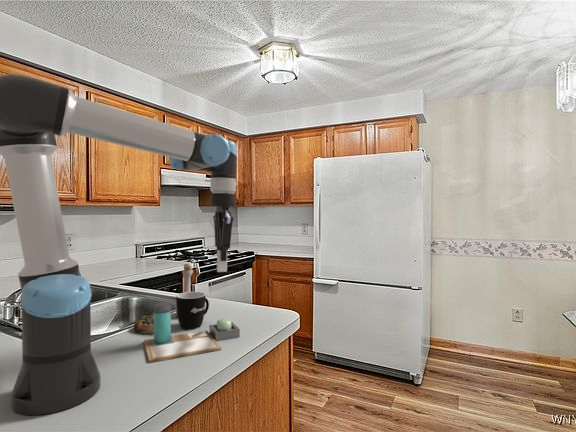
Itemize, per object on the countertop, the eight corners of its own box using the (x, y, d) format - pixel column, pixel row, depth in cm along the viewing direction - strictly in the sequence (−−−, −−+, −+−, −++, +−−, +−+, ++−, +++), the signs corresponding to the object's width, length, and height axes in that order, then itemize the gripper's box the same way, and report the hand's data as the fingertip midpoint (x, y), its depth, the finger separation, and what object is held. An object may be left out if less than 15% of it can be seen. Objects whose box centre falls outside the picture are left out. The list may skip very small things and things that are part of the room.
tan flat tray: (149, 362, 87) (149, 359, 87) (143, 341, 100) (143, 339, 100) (221, 350, 95) (221, 347, 95) (207, 332, 109) (207, 329, 109)
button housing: (215, 341, 102) (215, 332, 101) (209, 333, 108) (209, 325, 108) (239, 337, 105) (239, 329, 105) (232, 329, 111) (232, 321, 111)
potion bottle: (192, 309, 132) (192, 261, 132) (204, 315, 126) (204, 264, 125) (169, 314, 126) (169, 264, 126) (181, 320, 120) (181, 267, 119)
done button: (219, 337, 104) (219, 324, 103) (215, 333, 107) (215, 320, 107) (233, 335, 105) (233, 322, 105) (228, 331, 109) (228, 318, 109)
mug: (189, 333, 108) (189, 300, 108) (170, 327, 113) (170, 295, 112) (217, 322, 118) (217, 292, 118) (198, 317, 123) (198, 288, 122)
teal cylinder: (154, 344, 96) (154, 308, 96) (153, 339, 100) (153, 304, 100) (172, 342, 98) (172, 306, 98) (169, 336, 102) (169, 302, 102)
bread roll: (128, 327, 113) (131, 311, 113) (163, 325, 120) (165, 310, 120) (138, 338, 104) (140, 321, 104) (175, 336, 111) (177, 320, 111)
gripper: (242, 192, 102) (240, 274, 103) (228, 194, 114) (227, 267, 114) (216, 191, 99) (215, 276, 99) (205, 193, 111) (204, 268, 111)
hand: (221, 271), depth 107 cm, fingers closed
